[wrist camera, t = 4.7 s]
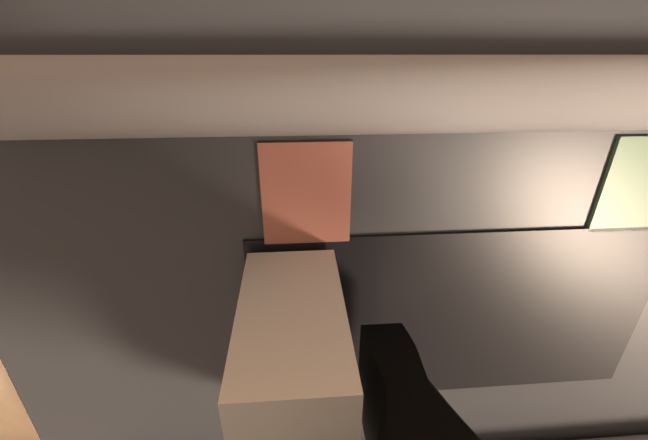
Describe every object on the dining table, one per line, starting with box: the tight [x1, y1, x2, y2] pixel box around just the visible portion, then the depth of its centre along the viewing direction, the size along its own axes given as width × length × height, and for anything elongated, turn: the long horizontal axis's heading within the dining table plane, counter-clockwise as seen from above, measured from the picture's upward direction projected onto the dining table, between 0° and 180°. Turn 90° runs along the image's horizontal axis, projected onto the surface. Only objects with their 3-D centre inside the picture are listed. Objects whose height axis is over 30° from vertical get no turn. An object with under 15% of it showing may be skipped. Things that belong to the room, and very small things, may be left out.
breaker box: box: [0, 0, 648, 440], centre depth 12 cm, size 16×24×3 cm, turn 90°
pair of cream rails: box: [0, 55, 648, 440], centre depth 10 cm, size 13×21×1 cm, turn 90°
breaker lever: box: [218, 250, 363, 440], centre depth 8 cm, size 5×2×4 cm, turn 0°
